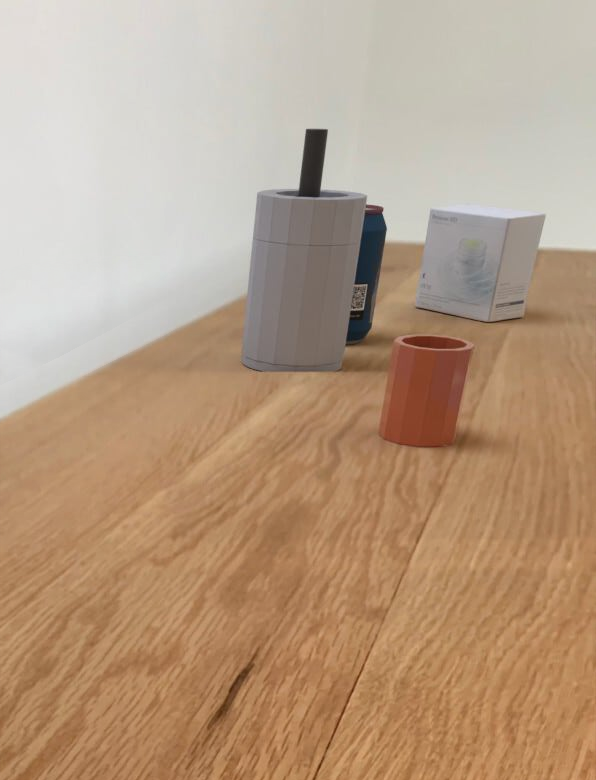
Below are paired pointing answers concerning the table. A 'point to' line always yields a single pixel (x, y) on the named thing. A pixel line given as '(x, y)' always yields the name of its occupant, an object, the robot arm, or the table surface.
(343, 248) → the grey cylindrical canister
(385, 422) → the brush pot
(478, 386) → the table surface
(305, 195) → the dark grey rod
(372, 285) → the soda can
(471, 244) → the cosmetics box
